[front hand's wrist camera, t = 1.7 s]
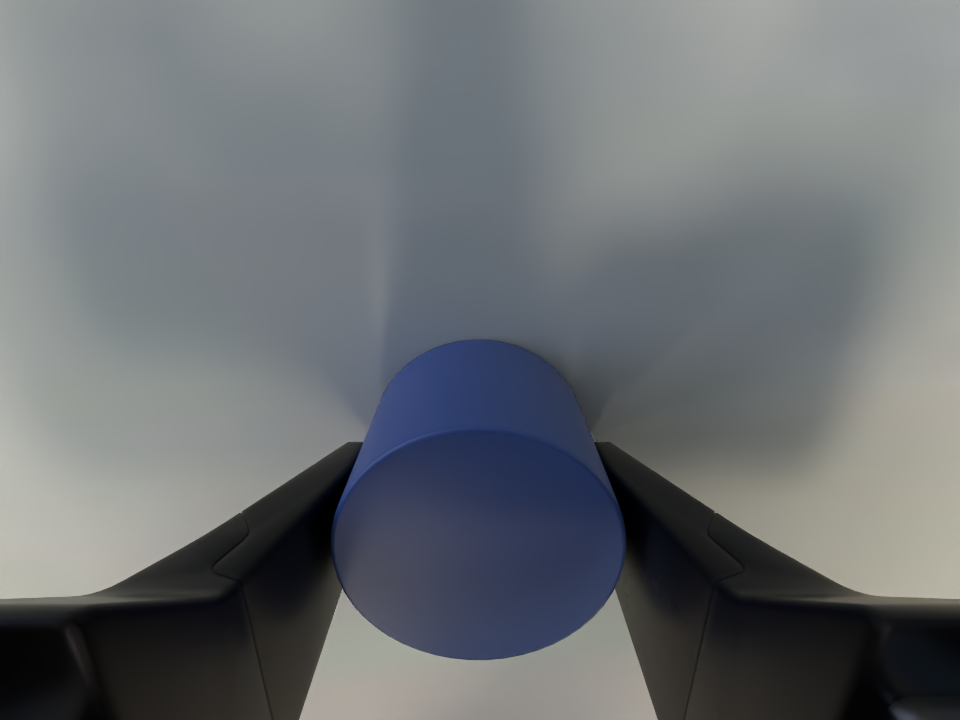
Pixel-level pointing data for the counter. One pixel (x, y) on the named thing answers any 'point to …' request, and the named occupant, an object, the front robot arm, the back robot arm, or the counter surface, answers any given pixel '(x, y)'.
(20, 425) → the counter surface
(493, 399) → the cylinder
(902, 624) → the front robot arm
